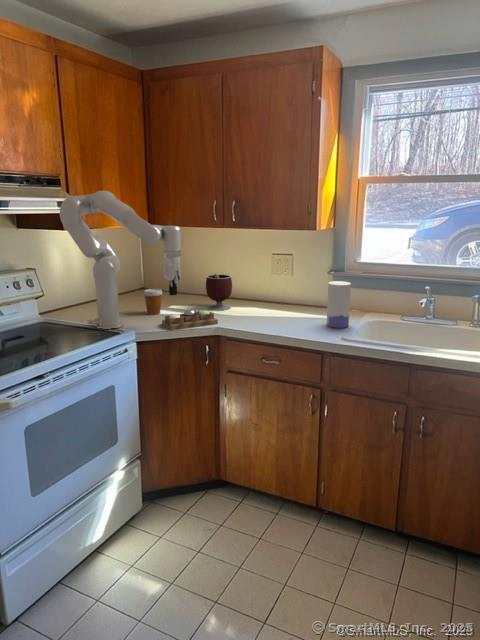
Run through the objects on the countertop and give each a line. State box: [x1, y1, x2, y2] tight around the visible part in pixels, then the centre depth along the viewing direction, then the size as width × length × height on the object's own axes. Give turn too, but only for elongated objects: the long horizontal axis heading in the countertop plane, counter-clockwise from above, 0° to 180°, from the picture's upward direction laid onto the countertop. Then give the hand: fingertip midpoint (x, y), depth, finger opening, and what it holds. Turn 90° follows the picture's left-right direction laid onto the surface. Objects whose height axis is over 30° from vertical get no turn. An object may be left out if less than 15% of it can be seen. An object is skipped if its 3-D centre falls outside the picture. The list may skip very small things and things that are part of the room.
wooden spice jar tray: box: [161, 311, 219, 331], centre depth 221 cm, size 23×12×4 cm, turn 119°
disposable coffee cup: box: [142, 288, 163, 316], centre depth 240 cm, size 10×10×12 cm
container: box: [326, 280, 352, 329], centre depth 217 cm, size 10×10×20 cm
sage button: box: [198, 310, 211, 315], centre depth 224 cm, size 5×5×2 cm
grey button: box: [183, 309, 196, 317], centre depth 220 cm, size 5×5×2 cm
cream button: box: [169, 313, 180, 319], centre depth 217 cm, size 5×5×2 cm
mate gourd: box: [205, 273, 233, 312], centre depth 250 cm, size 16×14×20 cm
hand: (173, 294), depth 214 cm, fingers closed
